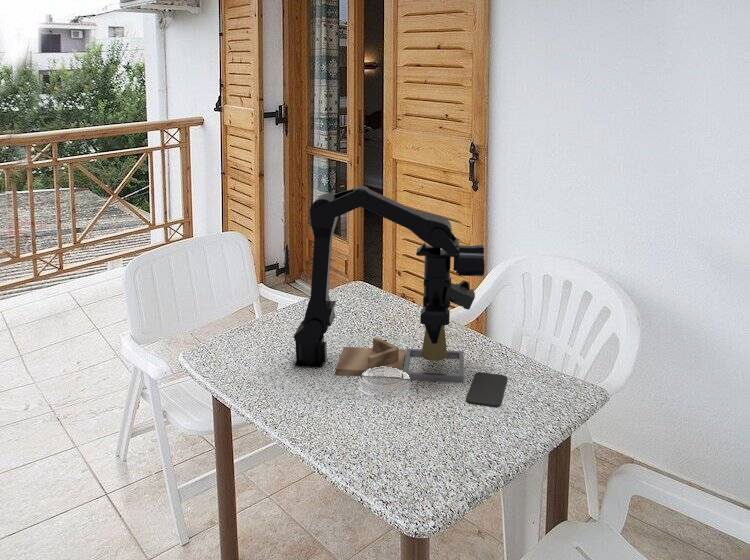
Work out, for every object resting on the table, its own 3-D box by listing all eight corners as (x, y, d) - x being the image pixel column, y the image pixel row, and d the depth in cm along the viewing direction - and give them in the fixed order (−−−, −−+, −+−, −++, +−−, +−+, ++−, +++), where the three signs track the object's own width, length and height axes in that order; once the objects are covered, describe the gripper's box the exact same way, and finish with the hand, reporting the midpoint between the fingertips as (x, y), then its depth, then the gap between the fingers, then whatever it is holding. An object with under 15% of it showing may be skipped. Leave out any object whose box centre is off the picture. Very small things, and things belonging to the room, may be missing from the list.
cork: (446, 362, 162) (447, 316, 159) (419, 359, 163) (420, 314, 160) (448, 351, 168) (450, 307, 164) (423, 349, 169) (424, 305, 165)
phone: (508, 375, 162) (500, 405, 148) (508, 378, 162) (500, 409, 149) (475, 371, 164) (464, 400, 150) (475, 374, 164) (464, 404, 151)
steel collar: (402, 379, 161) (402, 373, 160) (406, 354, 174) (406, 348, 173) (463, 382, 159) (464, 376, 159) (463, 356, 172) (463, 351, 172)
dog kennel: (335, 374, 163) (335, 356, 161) (343, 352, 175) (343, 335, 173) (401, 378, 161) (402, 359, 160) (405, 355, 173) (405, 338, 172)
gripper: (474, 289, 150) (471, 358, 155) (472, 263, 167) (469, 325, 172) (421, 287, 151) (419, 355, 156) (424, 261, 168) (423, 323, 173)
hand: (434, 339), depth 164 cm, fingers closed on cork, 4 cm apart
